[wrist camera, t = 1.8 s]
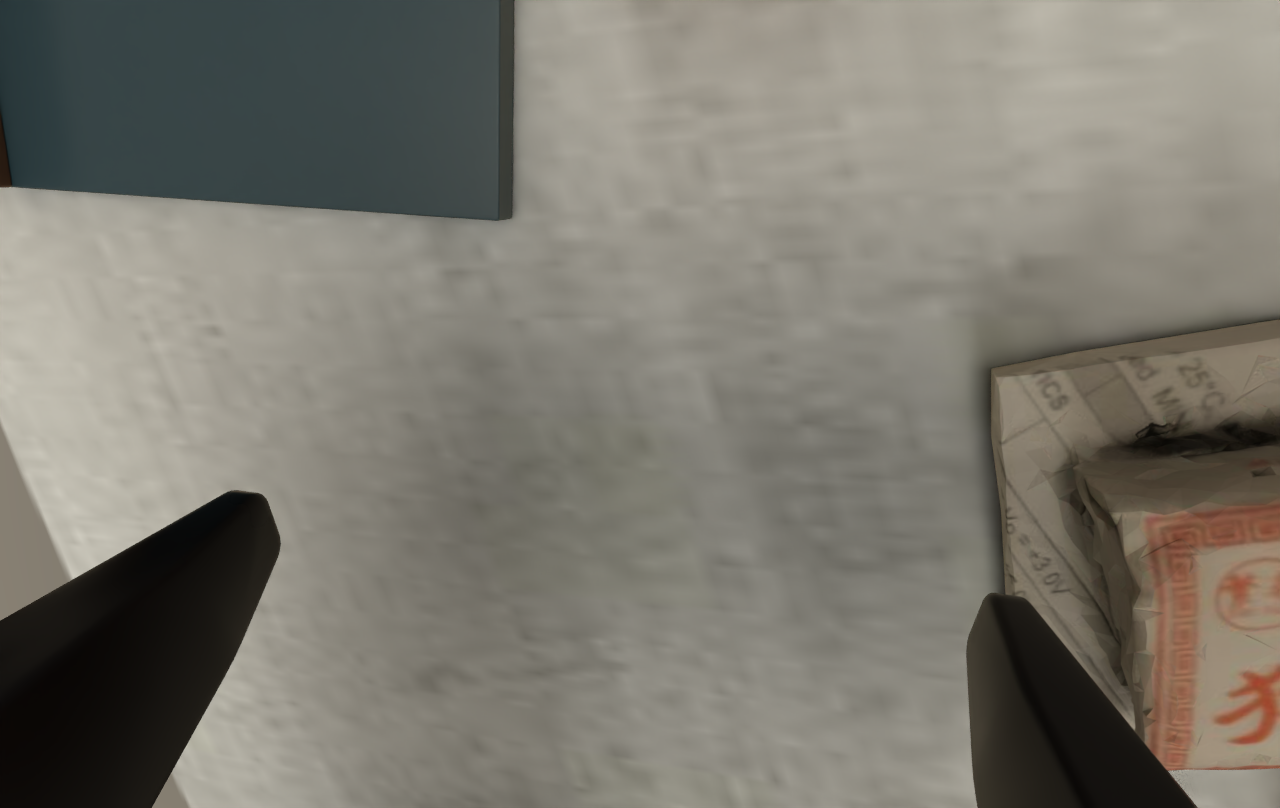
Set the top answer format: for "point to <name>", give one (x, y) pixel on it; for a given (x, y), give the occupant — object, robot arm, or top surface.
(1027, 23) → the top surface
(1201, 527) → the packaged product
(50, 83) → the board
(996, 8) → the top surface
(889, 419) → the top surface
